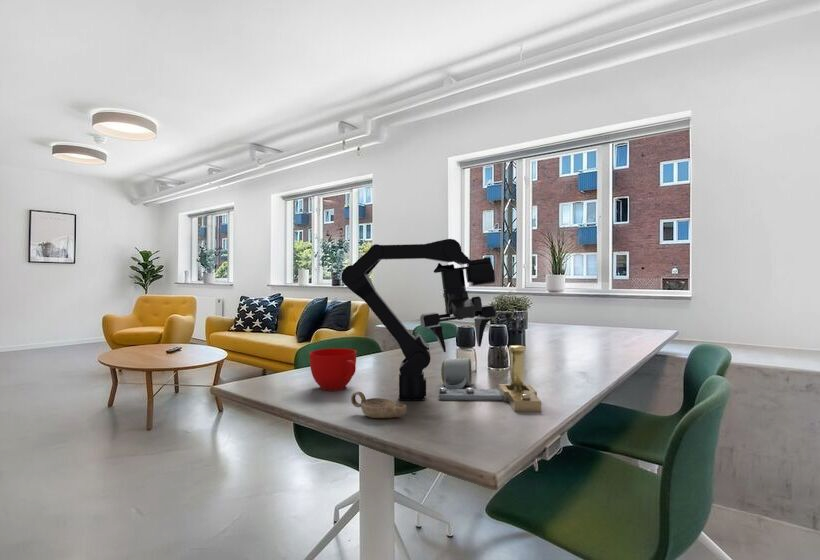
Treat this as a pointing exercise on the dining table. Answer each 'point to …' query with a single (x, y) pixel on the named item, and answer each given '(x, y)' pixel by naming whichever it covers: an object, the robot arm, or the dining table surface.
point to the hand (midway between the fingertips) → (462, 349)
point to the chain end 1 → (471, 394)
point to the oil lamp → (378, 407)
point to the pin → (517, 367)
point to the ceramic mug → (456, 373)
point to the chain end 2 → (521, 398)
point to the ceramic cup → (333, 367)
